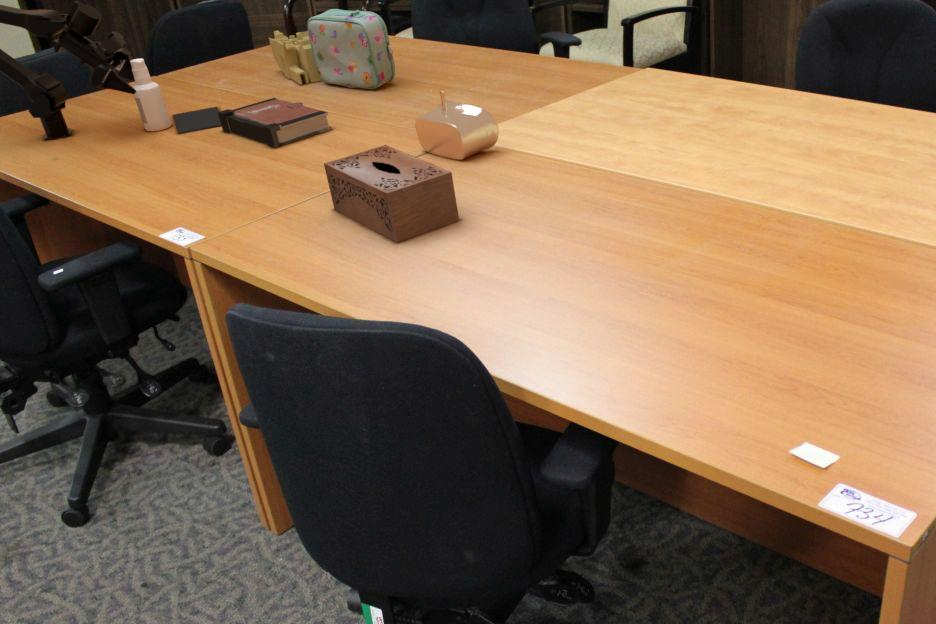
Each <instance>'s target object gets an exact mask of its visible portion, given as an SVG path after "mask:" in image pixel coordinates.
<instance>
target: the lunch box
mask: <svg viewBox="0 0 936 624" xmlns="http://www.w3.org/2000/svg"><path fill="white" fill-rule="evenodd" d="M307 31H308V33H309V39H310V43H311V48H312V53H313V57H314V61H315V65H316V68H317V71H318V74H319V76H320V78H321V79H322V80H323V82H324V83H325V84H331V85H338V86H343V87H347V88H348V89H349V88H350V89H353V88H354V89H355V88H356V89H357V88H359V89H366V90H373V89H377V88H379V87H381V86H383V85H386V84H387V83H391V82H393V81H394V79H395V77H396V65H395V59H394V56H393V54H394V51H393V48H392V45H391V43H390V40H389V33H388V28H387V25H386V22H385V21H384V19H383V18H382V17H381V15H379V14H377V13H375V12H374V11H368V10H359V9H356V10H346V9H340V8H331V9H328V10H326V11H324V12H322V13H319V14H317V15H313V16H311V17H310V18H308V20H307Z"/></svg>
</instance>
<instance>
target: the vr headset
mask: <svg viewBox="0 0 936 624" xmlns="http://www.w3.org/2000/svg"><path fill="white" fill-rule="evenodd" d="M439 97H440V104H439V105H438V107H435V108H434V109H432V110H430V111H428V112H426V113H424V114H422V115H421V116H418V117H417V118H416V119H415V121H414V127H415V132H416V135H417V140H418V142H419V144H420V147H422V149H423V150H424V151H426V152H427V153H429V154H432V155H436V156H439V157H443V158H448V159H453V160H459V161H461V160H464V159H467V158H468V157H470V156H473V155H475V154H477V153H479V152H482V151H485V150H489V149H491V148H493V147H495V145H496V144H497V142H498V140H499V134H500V133H499V132H500V131H499V125H498V123H497V120H496V119H495V116H493V115H492V113H490V112H489V111H487V110H486V109H484V108H482V107H479V106H476V105H472V104H467V103H461V102H455V101H452V100H447V99H446V96H445V91H442V90H439Z"/></svg>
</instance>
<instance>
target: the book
mask: <svg viewBox="0 0 936 624" xmlns="http://www.w3.org/2000/svg"><path fill="white" fill-rule="evenodd" d="M218 116H219V119H220V123H221V126H220V127H221V129H222V132H225V133H228V134H230V133H232V134H234V135H238V136H241V137H243V138H245V139H250V140H252V141H256V142H258V143H262V144H265V145H267V146H268V147H271V148H274V149H276V148H280V147H283V146H286V145H289V144H292V143H295V142H298V141H302V140H304V139H307V138H311V137H314V136H317V135H319V134H323V133H327V132H329V131H332V126H329V122H328V117H327V116H329V112H328V111H324V110H321V109H317V108H313V107H311V106H310V107H309V106H306V105H304V103H303V102H301V101H300V102H297V101H296V102H292V101H287V100H283V99H280V98H276V97H272V98H269V99H264V100H261V101H259V102H255V103H254V102H253V103H251V104H248V105H244V106H241V107H237V108H233V109H229V108H227V109H224V110H221V111H219V112H218Z"/></svg>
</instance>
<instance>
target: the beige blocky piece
mask: <svg viewBox="0 0 936 624" xmlns="http://www.w3.org/2000/svg"><path fill="white" fill-rule="evenodd" d="M295 35H296V36H295ZM295 35H294V34H291V35H289V37H287V36H286V35H284V33H283V32H280V30H274V31H273V36H274V38H272V37H268V41H269V45H270V48H271V49H270V50H271V52H272V56H273V58H274V60H275V62H276V65H277V66H278V68H279V69H280V70H281V71H282V73H283V74H284V76H285V77H286V78H287V79H289V80H293V81H294V82H296V83H297V84H298V85H300V86H301V85H303V83H305V84H309V82H310V83H317V82H322V81H323V80H322V79H321V78H320V76H319V74H318V71H317V68H316V65H315V61H314V57H313V53H312V48H311V43H310V39H309V33H308V30H305V31H301V32H300V31H299V32H296V33H295ZM323 82H324V81H323Z"/></svg>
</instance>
